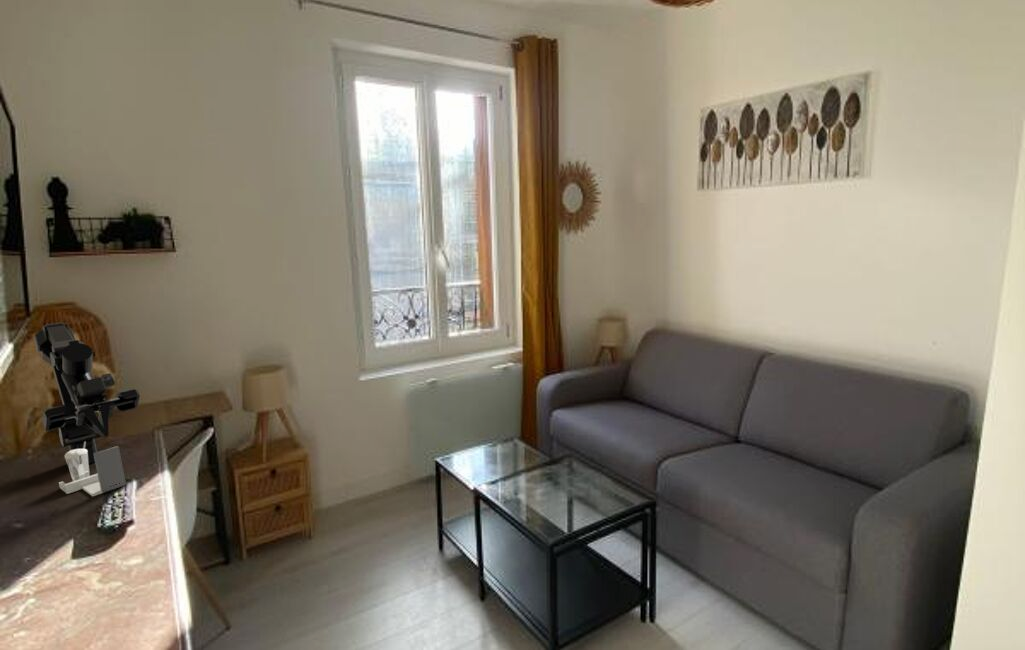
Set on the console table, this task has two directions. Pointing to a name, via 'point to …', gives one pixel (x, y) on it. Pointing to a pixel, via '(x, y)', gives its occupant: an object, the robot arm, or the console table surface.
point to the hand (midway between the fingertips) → (106, 436)
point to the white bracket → (100, 474)
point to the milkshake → (78, 463)
